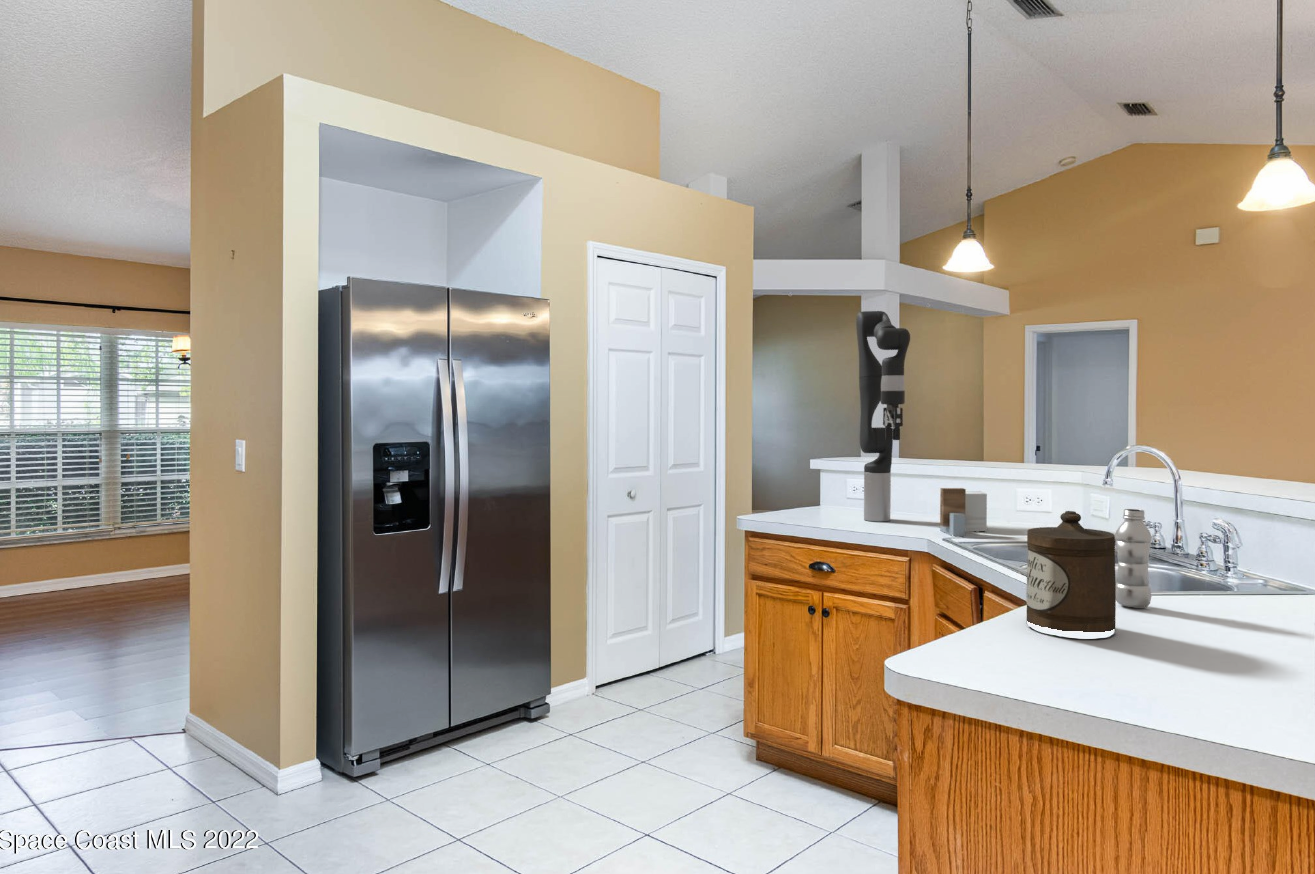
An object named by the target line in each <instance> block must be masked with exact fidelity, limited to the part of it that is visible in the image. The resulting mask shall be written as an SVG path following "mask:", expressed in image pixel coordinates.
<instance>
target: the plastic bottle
mask: <svg viewBox="0 0 1315 874" xmlns="http://www.w3.org/2000/svg"><path fill="white" fill-rule="evenodd" d="M1122 519H1124V521H1123V522H1122V523H1121V524H1120V525H1119V526H1118V528H1117V529H1116V531H1115V534H1114V535H1115V547H1116V551H1117V560H1118V561H1117V574H1116V575H1117V576H1116V602H1117V604H1118V605H1121V606H1124V607H1127V608H1130V607H1136V608H1135V609H1138V608H1139V609H1140V608H1141V609H1142V608H1147V607H1149V605H1151V600H1152V597H1153V596H1152V591H1151V586H1150V579H1149V577H1150V576H1149V575H1150V574H1149V560H1150V559H1149V558H1150V552H1151V546H1152V533H1151V531H1150V530H1149V527H1147V525H1146V524H1145V523H1144V521H1145V519H1146V517H1145V510H1143V509H1135V508H1125V509H1123V516H1122Z"/></svg>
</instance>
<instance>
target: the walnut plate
mask: <svg viewBox="0 0 1315 874" xmlns="http://www.w3.org/2000/svg"><path fill="white" fill-rule="evenodd" d="M966 490H967V489H966V488H963V487H945V488H944V487H943V488H942V487H940V490H939V491H940V494H939V495H940V497H939V498H940V499H939V501H940V502H939V503H940V507H939V508H940V510H939V515H940V516H939V517H940V518H939V525H941V526H943V527H949V524H950V513H963V514H965V499H966Z"/></svg>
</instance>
